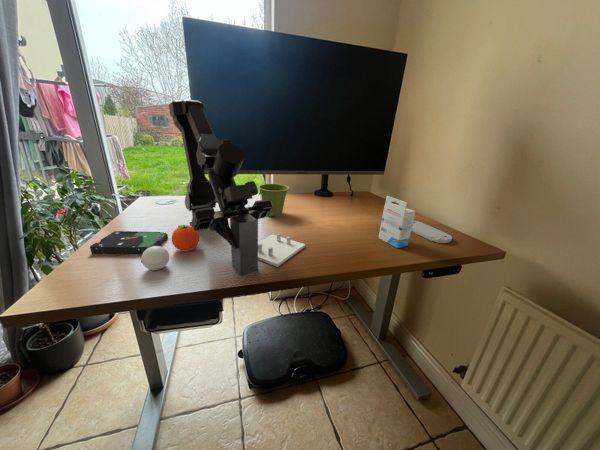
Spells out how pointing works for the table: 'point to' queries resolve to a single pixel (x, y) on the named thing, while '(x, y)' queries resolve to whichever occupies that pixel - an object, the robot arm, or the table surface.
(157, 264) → the white egg
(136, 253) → the disk drive
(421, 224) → the game console
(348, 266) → the table surface
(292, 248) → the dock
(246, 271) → the grey metal block
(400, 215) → the ink box
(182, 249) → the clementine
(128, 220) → the table surface
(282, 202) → the plant pot
